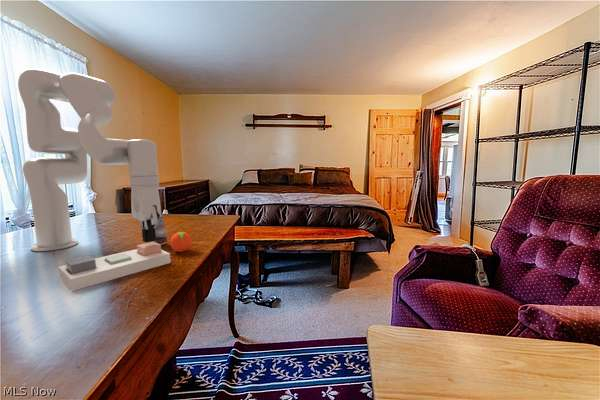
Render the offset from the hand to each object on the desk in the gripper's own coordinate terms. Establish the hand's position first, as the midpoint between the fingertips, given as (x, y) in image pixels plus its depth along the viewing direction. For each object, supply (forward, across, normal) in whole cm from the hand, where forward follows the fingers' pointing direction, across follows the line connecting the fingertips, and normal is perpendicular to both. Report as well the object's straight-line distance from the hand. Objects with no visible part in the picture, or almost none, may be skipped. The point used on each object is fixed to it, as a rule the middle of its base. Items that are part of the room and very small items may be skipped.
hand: (149, 240), depth 84 cm
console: (+7, 0, -9) cm, 11 cm away
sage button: (+6, 0, -9) cm, 10 cm away
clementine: (+7, -1, +11) cm, 13 cm away
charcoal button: (+4, 0, -17) cm, 18 cm away
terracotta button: (+4, 0, 0) cm, 4 cm away
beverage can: (+7, -15, +9) cm, 19 cm away
